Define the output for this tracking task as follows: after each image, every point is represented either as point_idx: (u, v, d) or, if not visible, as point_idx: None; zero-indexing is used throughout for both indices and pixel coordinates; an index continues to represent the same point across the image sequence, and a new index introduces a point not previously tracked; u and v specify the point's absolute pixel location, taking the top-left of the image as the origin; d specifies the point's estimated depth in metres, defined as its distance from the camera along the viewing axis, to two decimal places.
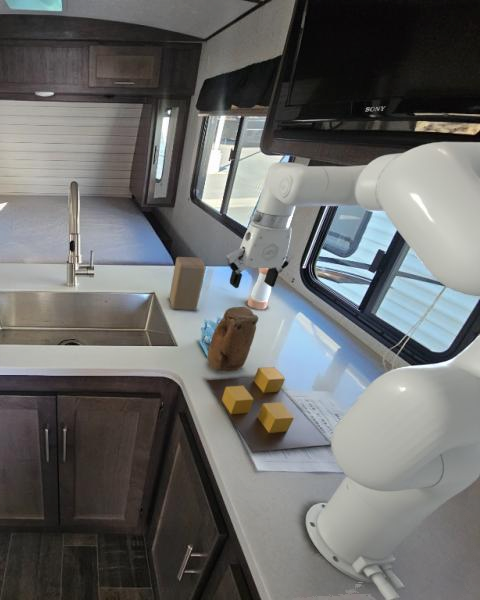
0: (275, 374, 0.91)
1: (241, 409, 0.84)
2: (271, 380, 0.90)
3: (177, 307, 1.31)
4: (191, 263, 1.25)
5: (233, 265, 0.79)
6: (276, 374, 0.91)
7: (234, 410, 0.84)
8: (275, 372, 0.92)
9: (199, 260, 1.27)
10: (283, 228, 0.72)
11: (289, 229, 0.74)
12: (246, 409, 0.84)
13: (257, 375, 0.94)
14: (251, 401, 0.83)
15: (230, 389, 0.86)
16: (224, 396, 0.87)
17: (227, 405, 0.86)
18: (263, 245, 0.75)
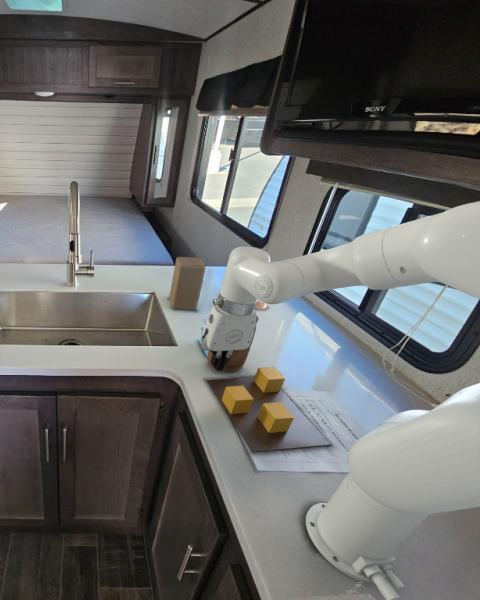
0: (275, 374, 0.91)
1: (241, 409, 0.84)
2: (271, 380, 0.90)
3: (177, 307, 1.31)
4: (191, 263, 1.25)
5: None
6: (276, 374, 0.91)
7: (234, 410, 0.84)
8: (275, 372, 0.92)
9: (199, 260, 1.27)
10: (246, 315, 0.68)
11: (254, 314, 0.69)
12: (246, 409, 0.84)
13: (257, 375, 0.94)
14: (251, 401, 0.83)
15: (230, 389, 0.86)
16: (224, 396, 0.87)
17: (227, 405, 0.86)
18: (226, 330, 0.70)
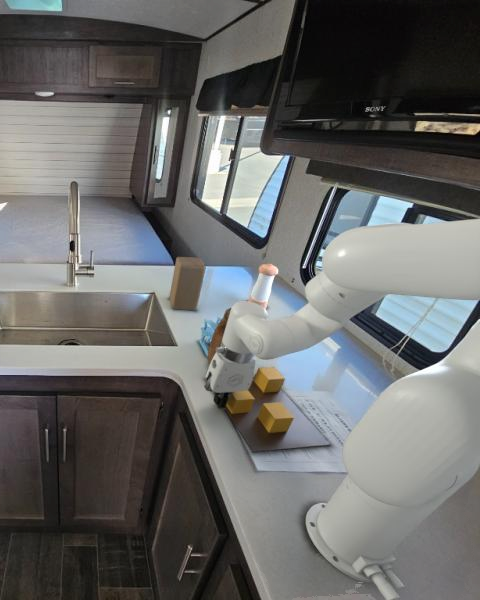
0: (275, 374, 0.91)
1: (242, 409, 0.84)
2: (271, 380, 0.90)
3: (177, 307, 1.31)
4: (191, 263, 1.25)
5: None
6: (276, 374, 0.91)
7: (235, 409, 0.84)
8: (275, 372, 0.92)
9: (199, 260, 1.27)
10: (246, 363, 0.75)
11: (253, 361, 0.76)
12: (247, 409, 0.85)
13: (257, 375, 0.94)
14: (252, 401, 0.83)
15: None
16: None
17: (228, 405, 0.86)
18: (228, 375, 0.77)
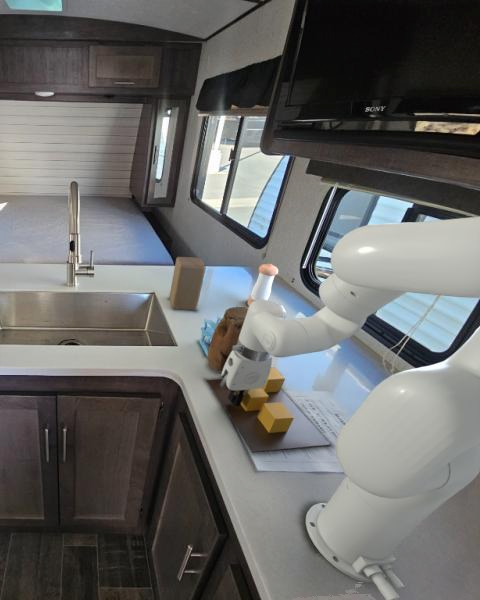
0: (275, 374, 0.91)
1: (256, 406, 0.85)
2: (271, 380, 0.90)
3: (177, 307, 1.31)
4: (191, 263, 1.25)
5: None
6: (276, 374, 0.91)
7: (249, 407, 0.85)
8: (275, 372, 0.92)
9: (199, 260, 1.27)
10: (263, 361, 0.75)
11: (269, 359, 0.77)
12: (261, 406, 0.85)
13: None
14: (266, 398, 0.84)
15: None
16: None
17: (242, 402, 0.87)
18: (245, 373, 0.78)
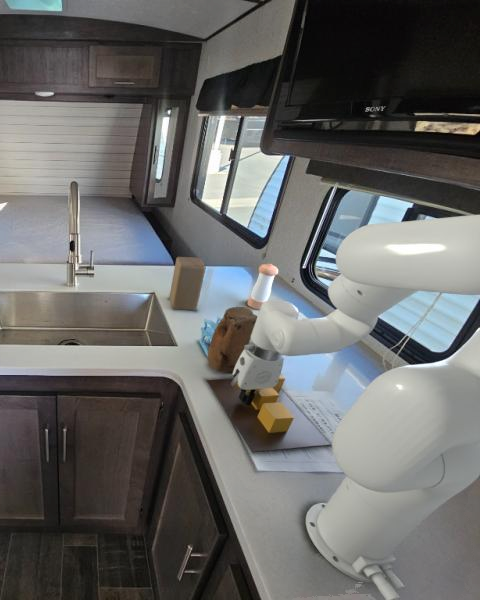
0: None
1: None
2: None
3: (177, 307, 1.31)
4: (191, 263, 1.25)
5: None
6: None
7: (259, 405, 0.85)
8: None
9: (199, 260, 1.27)
10: (276, 360, 0.75)
11: (281, 358, 0.77)
12: None
13: None
14: (276, 397, 0.85)
15: None
16: None
17: (252, 401, 0.88)
18: (256, 372, 0.78)
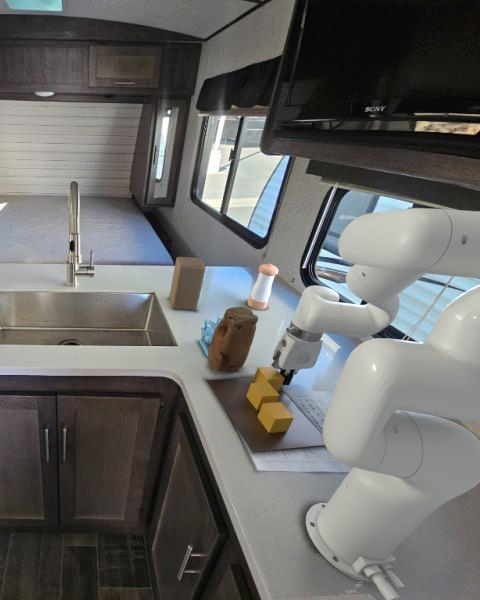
0: (275, 374, 0.91)
1: None
2: (270, 380, 0.90)
3: (177, 307, 1.31)
4: (191, 263, 1.25)
5: (283, 368, 0.90)
6: (275, 374, 0.91)
7: (260, 406, 0.85)
8: (274, 372, 0.92)
9: (199, 260, 1.27)
10: (316, 341, 0.83)
11: (321, 340, 0.84)
12: None
13: (257, 374, 0.94)
14: (277, 397, 0.85)
15: (255, 385, 0.87)
16: (249, 392, 0.89)
17: (252, 401, 0.88)
18: (297, 353, 0.85)
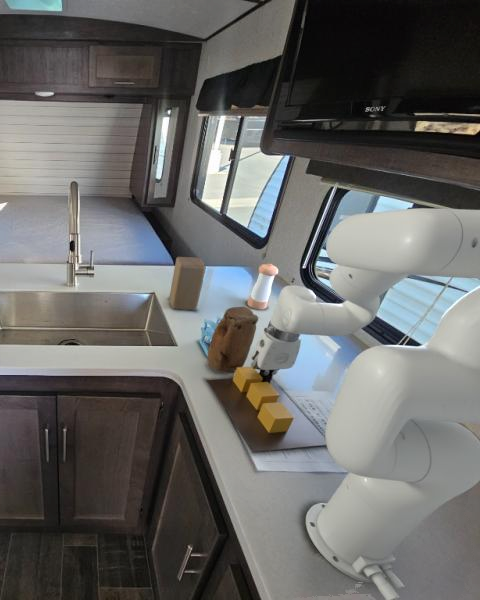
0: (253, 374, 0.91)
1: None
2: (249, 379, 0.89)
3: (177, 307, 1.31)
4: (191, 263, 1.25)
5: (262, 368, 0.90)
6: (254, 374, 0.91)
7: (260, 406, 0.85)
8: (253, 372, 0.92)
9: (199, 260, 1.27)
10: (294, 342, 0.82)
11: (299, 340, 0.84)
12: None
13: (236, 374, 0.94)
14: (277, 397, 0.85)
15: (255, 385, 0.87)
16: (249, 392, 0.89)
17: (252, 401, 0.88)
18: (275, 353, 0.85)
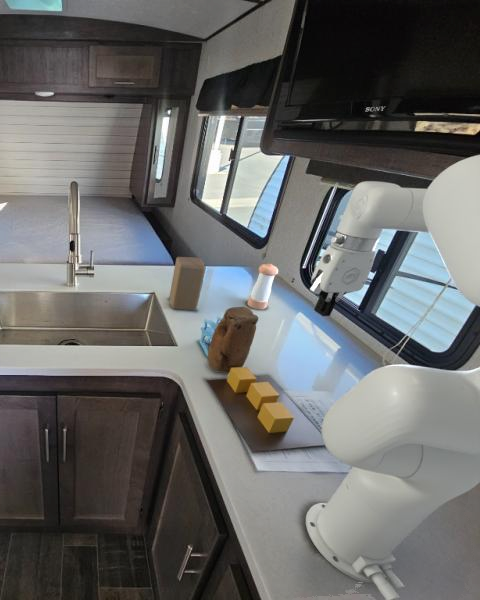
0: (247, 374, 0.91)
1: None
2: (242, 380, 0.89)
3: (177, 307, 1.31)
4: (191, 263, 1.25)
5: (324, 293, 0.75)
6: (248, 374, 0.91)
7: (260, 406, 0.85)
8: (247, 372, 0.92)
9: (199, 260, 1.27)
10: (369, 251, 0.67)
11: (373, 252, 0.69)
12: None
13: (230, 375, 0.94)
14: (277, 397, 0.85)
15: (255, 385, 0.87)
16: (249, 392, 0.89)
17: (252, 401, 0.88)
18: (344, 269, 0.70)
